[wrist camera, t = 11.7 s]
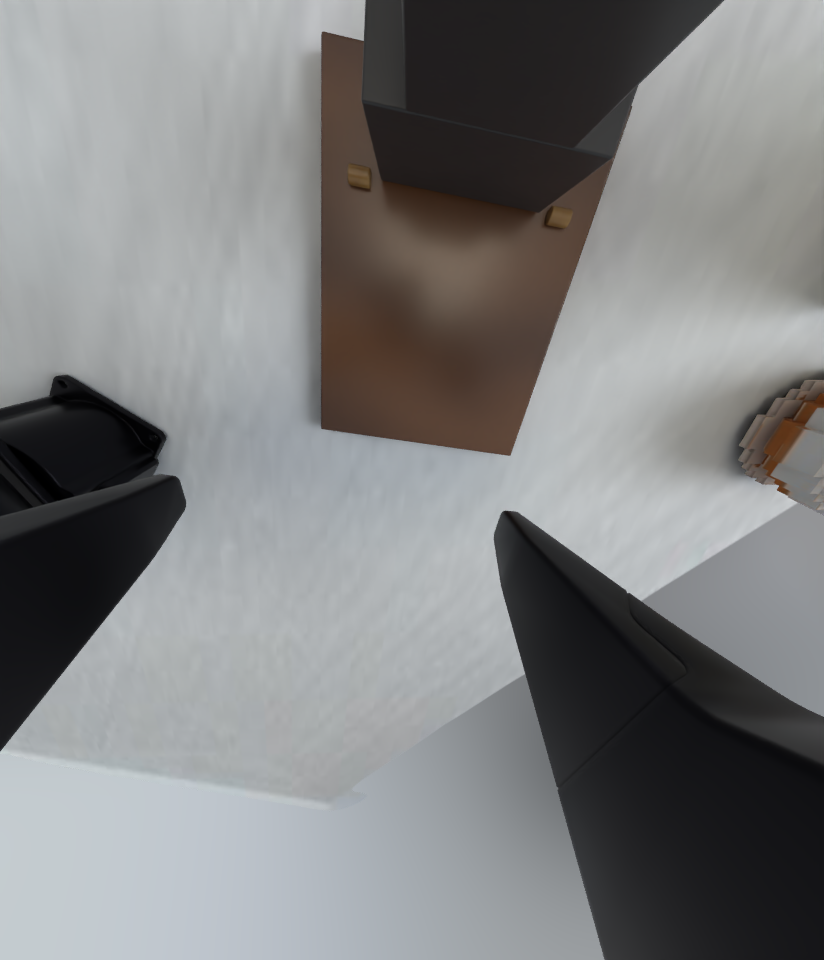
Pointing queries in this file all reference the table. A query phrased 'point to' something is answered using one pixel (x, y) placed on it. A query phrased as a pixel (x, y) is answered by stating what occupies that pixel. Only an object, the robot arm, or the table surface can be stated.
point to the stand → (431, 288)
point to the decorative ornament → (790, 445)
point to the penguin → (509, 89)
